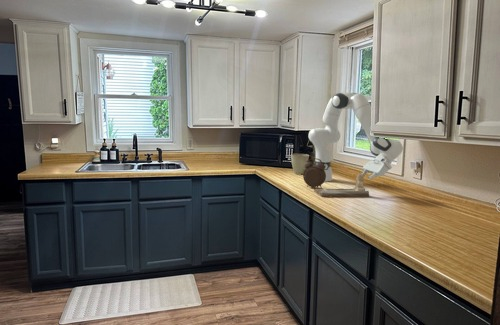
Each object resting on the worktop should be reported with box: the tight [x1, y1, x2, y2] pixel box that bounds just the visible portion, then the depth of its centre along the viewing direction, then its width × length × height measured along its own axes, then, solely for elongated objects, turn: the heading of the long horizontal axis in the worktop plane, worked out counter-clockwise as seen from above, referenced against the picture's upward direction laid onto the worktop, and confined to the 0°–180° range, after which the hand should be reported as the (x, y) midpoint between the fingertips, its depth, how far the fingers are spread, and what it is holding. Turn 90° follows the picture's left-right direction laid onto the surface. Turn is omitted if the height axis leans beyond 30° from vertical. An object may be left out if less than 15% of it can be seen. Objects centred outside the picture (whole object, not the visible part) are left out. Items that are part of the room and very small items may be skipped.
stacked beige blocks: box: [352, 173, 366, 191], centre depth 218 cm, size 6×5×11 cm
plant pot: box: [290, 153, 310, 175], centre depth 289 cm, size 15×15×16 cm
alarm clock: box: [302, 157, 326, 189], centre depth 234 cm, size 15×7×20 cm, turn 53°
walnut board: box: [313, 188, 370, 198], centre depth 218 cm, size 14×30×4 cm, turn 99°
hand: (365, 177), depth 218 cm, fingers open, 8 cm apart
